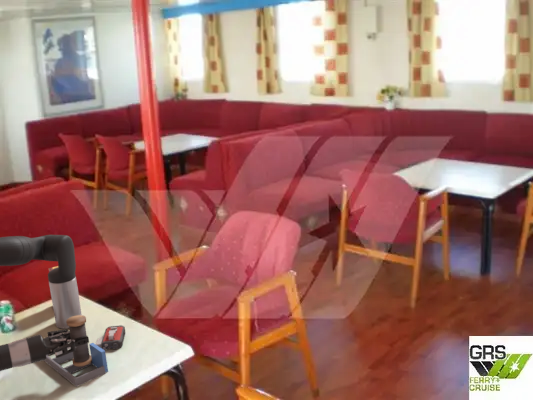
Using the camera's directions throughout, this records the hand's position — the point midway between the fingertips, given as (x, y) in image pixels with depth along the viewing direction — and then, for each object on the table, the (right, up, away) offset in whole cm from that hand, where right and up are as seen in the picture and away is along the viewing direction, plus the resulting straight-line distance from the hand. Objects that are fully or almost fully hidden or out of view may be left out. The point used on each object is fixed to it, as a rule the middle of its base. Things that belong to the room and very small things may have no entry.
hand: (86, 335), depth 190 cm
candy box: (-24, 0, +51) cm, 56 cm away
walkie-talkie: (+2, -8, +19) cm, 21 cm away
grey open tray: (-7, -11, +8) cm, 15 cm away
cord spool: (-1, -8, +1) cm, 8 cm away
